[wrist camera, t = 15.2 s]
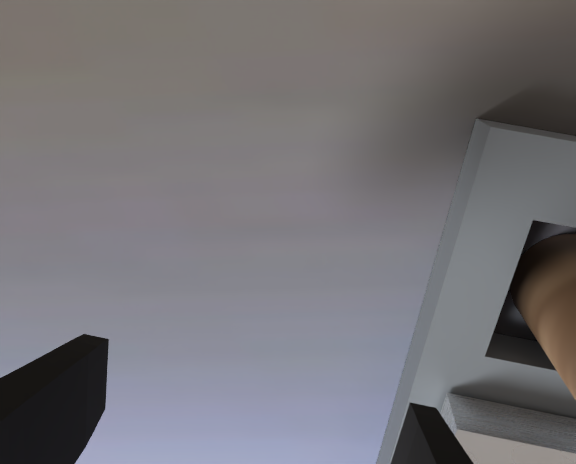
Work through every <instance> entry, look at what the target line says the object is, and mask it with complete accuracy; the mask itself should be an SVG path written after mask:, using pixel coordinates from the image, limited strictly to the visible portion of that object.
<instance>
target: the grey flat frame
mask: <svg viewBox="0 0 576 464" xmlns="http://www.w3.org/2000/svg"><path fill="white" fill-rule="evenodd" d="M533 220H536V221H541V222H547V223H552V224H557V225H563V226H568V227H574V228H576V136H573V135H567V134H562V133H556V132H550V131H545V130H539V129H534V128H528V127H522V126H517V125H511V124H505V123H500V122H494V121H489V120H483V119H477V118H476V120H475V124H474V127H473V131H472V134H471V138H470V141H469V144H468V148H467V151H466V155H465V158H464V162H463V165H462V169H461V172H460V176H459V179H458V183H457V186H456V189H455V193H454V196H453V200H452V203H451V207H450V210H449V214H448V217H447V221H446V224H445V227H444V231H443V234H442V238H441V241H440V245H439V248H438V252H437V255H436V259H435V262H434V265H433V269H432V272H431V276H430V279H429V283H428V286H427V290H426V293H425V297H424V300H423V303H422V307H421V310H420V314H419V317H418V321H417V324H416V328H415V331H414V335H413V338H412V341H411V345H410V348H409V352H408V355H407V359H406V362H405V366H404V369H403V373H402V376H401V380H400V383H399V386H398V390H397V393H396V397H395V400H394V404H393V407H392V411H391V414H390V418H389V421H388V424H387V428H386V431H385V435H384V438H383V442H382V445H381V449H380V452H379V456H378V459H377V462H376V464H391V461H392V458H393V455H394V452H395V448H396V445H397V442H398V439H399V435H400V432H401V429H402V426H403V423H404V419H405V416H406V413H407V410H408V407H409V403H410V402H411V403H415V404H420V405H425V406H430V407H435V408H437V410H438V411H439V413H440V412H441V409H442V406H443V403H444V400H445V397H446V394H447V393H450V394H455V395H460V396H465V397H470V398H475V399H480V400H485V401H490V402H495V403H500V404H505V405H510V406H514V407H519V408H524V409H529V410H534V411H539V412H544V413H549V414H554V415H559V416H564V417H569V418H574V419H576V400H575V399H574V397H573V395H572V394H571V392H570V391H569V389H568V388H567V386H566V384H565V383H564V381H563V380H562V378H561V377H560V375H559V373H558V372H557V370H556V369H555V367H554V366H553V364H552V363H551V361H550V359H549V358H548V356H547V355H546V353H545V352H544V350H543V348H542V347H541V345H540V344H539V342H537V341H532V340H527V339H522V338H517V337H512V336H506V335H501V334H496V333H493V332H494V329H495V326H496V323H497V320H498V318H499V315H500V312H501V309H502V306H503V303H504V301H505V298H506V295H507V292H508V289H509V286H510V284H511V281H512V278H513V275H514V272H515V269H516V267H517V264H518V261H519V258H520V255H521V252H522V250H523V247H524V244H525V241H526V238H527V235H528V233H529V230H530V227H531V224H532V221H533Z"/></svg>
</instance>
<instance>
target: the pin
mask: <svg viewBox="0 0 576 464" xmlns="http://www.w3.org/2000/svg"><path fill="white" fill-rule="evenodd" d="M510 293H511V297H512V300H513V302H514V304H515V306H516V308H517V309H518V311H519V312H520V314H521V315H522V317H523V319H524V320H525V322H526V323H527V325H528V326H529V328H530V330H531V331H532V333H533V334H534V336H535V337H536V339H537V341H538V342H539V344H540V345H541V347H542V348H543V350H544V352H545V353H546V355H547V356H548V358H549V359H550V361H551V363H552V364H553V366H554V367H555V369H556V370H557V372H558V373H559V375H560V377H561V378H562V380H563V381H564V383H565V384H566V386H567V388H568V389H569V391H570V392H571V394H572V395H573V397H574V399H575V400H576V234H562V235H556V236H552V237H549V238H547V239H544V240H542V241H540V242H538V243H537V244H535V245H533V246H532V247H531V248H529V249H528V250H527V251H526V252H525V253H524V254H523V255H522V256H521V257H520V259H519V261H518V264H517V267H516V269H515V272H514V275H513V278H512V281H511V284H510Z"/></svg>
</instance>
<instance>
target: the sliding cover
mask: <svg viewBox="0 0 576 464" xmlns="http://www.w3.org/2000/svg"><path fill="white" fill-rule="evenodd" d="M440 414H441V416H442V417H443V419H444V420H445V422H446V423H447V425H448V426H449V428H450V429H451V431H452V432H453V434H454V435H455V437H456V438H457V440H458V441H459V443H460V444H461V446H462V447H463V449H464V450H465V452H466V453H467V455H468V456H469V457H470V459H471V460H472V462H473V463H474V464H576V419H574V418H569V417H564V416H559V415H554V414H549V413H544V412H539V411H534V410H529V409H524V408H519V407H514V406H510V405H505V404H500V403H495V402H490V401H485V400H480V399H475V398H470V397H465V396H460V395H455V394H450V393H447V394H446V397H445V400H444V403H443V406H442V409H441V412H440Z"/></svg>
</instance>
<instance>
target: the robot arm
mask: <svg viewBox="0 0 576 464" xmlns="http://www.w3.org/2000/svg"><path fill="white" fill-rule="evenodd" d="M108 341H109V339H105V338H100V337H96V336H91V335H86V334H83V335H81V336H79V337H77V338H75V339H73V340H71V341H69V342H67V343H65V344H64V345H62V346H60V347H58V348H56V349H54V350H53V351H51V352H49V353H47V354H45V355H43V356H42V357H40V358H38V359H36V360H34V361H32V362H30V363H28V364H27V365H25V366H23V367H21V368H19V369H17V370H15V371H13V372H11V373H9V374H8V375H6V376H3V377H1V378H0V464H75V462H76V461H77V459H78V458H79V456H80V455H81V453H82V452H83V450H84V448H85V447H86V445H87V443H88V441H89V439H90V437H91V436H92V434H93V432H94V430H95V428H96V426H97V424H98V422H99V420H100V418H101V416H102V414H103V412H104V410H105V402H106V381H107V361H108ZM391 464H474V463H473V462H472V460H471V459H470V457H469V456H468V455H467V453H466V452H465V450H464V449H463V447H462V446H461V444H460V443H459V441H458V440H457V438H456V437H455V435H454V434H453V432H452V431H451V429H450V428H449V426H448V425H447V423H446V422H445V420H444V419H443V417H442V416H441V414H440V413H439V411H438V410H437V408H435V407H430V406H425V405H420V404H415V403H411V402H410V403H409V407H408V410H407V413H406V416H405V419H404V423H403V426H402V429H401V432H400V435H399V439H398V442H397V445H396V448H395V452H394V455H393V458H392V461H391Z"/></svg>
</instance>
